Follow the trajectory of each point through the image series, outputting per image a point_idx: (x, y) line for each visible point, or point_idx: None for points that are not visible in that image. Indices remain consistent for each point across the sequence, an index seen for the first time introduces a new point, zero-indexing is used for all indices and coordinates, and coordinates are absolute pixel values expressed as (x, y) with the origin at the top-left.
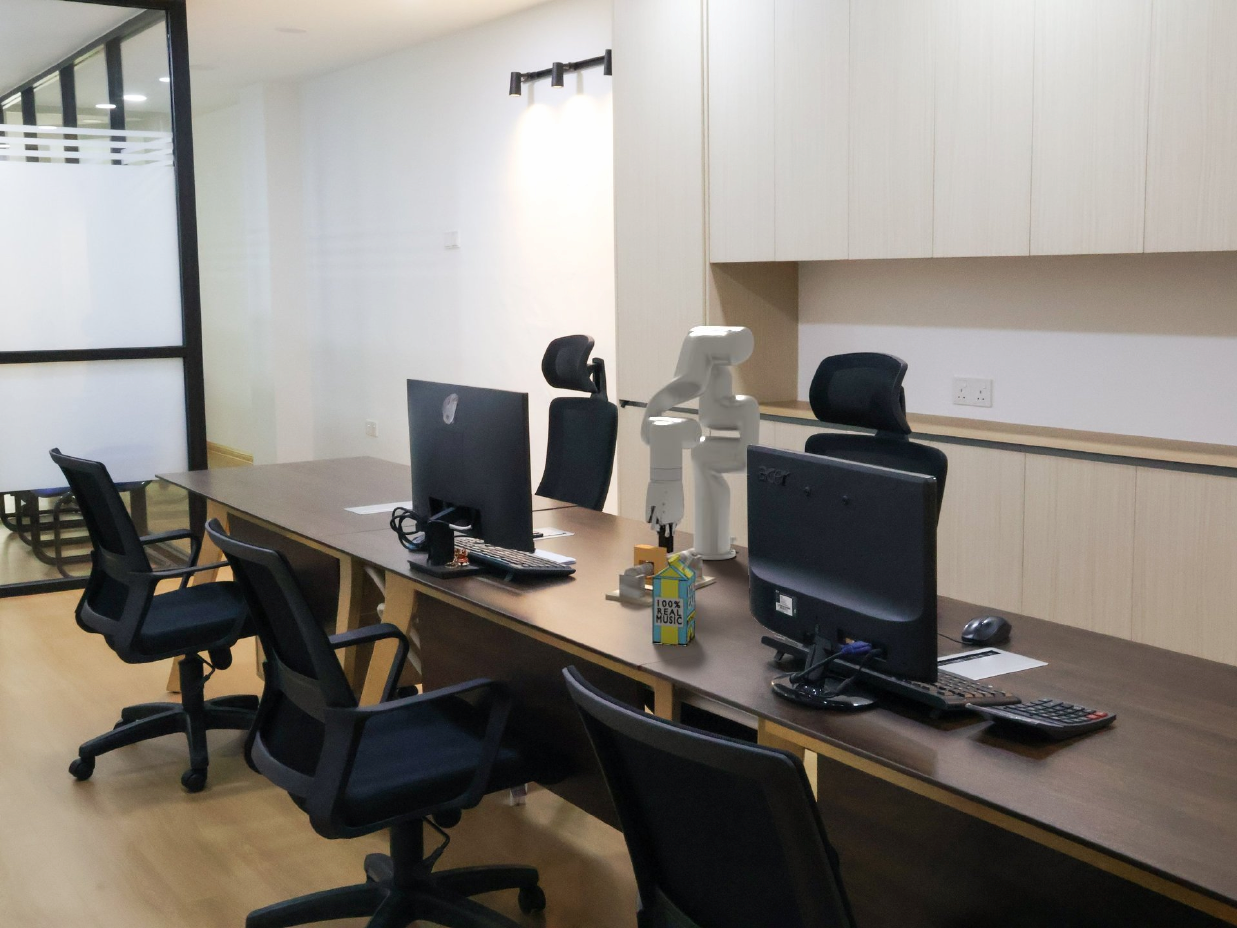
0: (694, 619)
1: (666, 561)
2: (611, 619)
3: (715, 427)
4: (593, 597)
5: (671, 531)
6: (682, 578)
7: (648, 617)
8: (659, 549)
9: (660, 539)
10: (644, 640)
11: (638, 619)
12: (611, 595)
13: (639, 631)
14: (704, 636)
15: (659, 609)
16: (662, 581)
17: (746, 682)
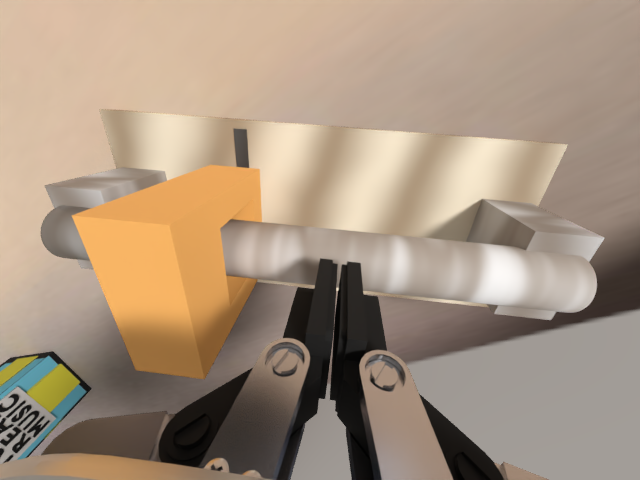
0: (59, 420)
1: (303, 283)
2: (12, 243)
3: None
4: (85, 57)
5: (349, 440)
6: None
7: (95, 298)
8: (151, 365)
9: (284, 335)
10: (6, 344)
11: (68, 288)
12: (108, 138)
13: (25, 321)
14: (104, 397)
15: None
16: None
17: (36, 455)
